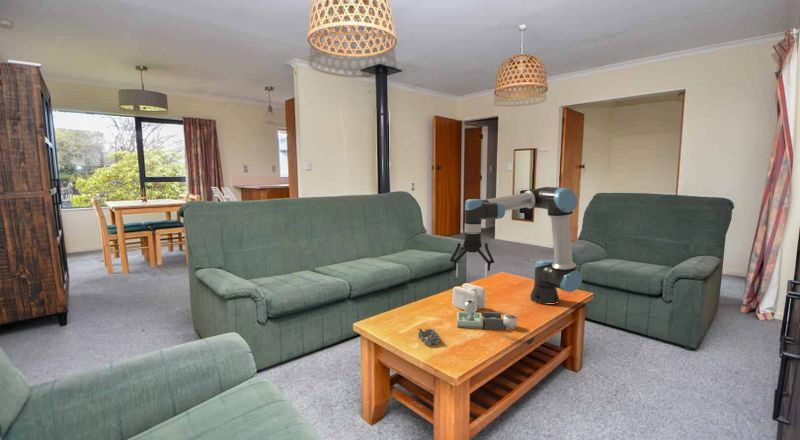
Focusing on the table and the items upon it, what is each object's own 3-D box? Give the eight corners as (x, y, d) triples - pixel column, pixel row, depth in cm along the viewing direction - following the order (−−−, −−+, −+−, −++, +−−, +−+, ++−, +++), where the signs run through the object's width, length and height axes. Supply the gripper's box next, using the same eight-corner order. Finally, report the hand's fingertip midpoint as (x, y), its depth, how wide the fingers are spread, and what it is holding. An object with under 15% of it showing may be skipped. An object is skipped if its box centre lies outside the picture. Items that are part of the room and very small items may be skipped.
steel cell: (473, 319, 178) (474, 299, 176) (474, 323, 173) (475, 302, 172) (464, 318, 178) (464, 298, 177) (464, 322, 174) (465, 302, 172)
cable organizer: (486, 310, 192) (487, 288, 191) (474, 315, 185) (474, 292, 184) (463, 302, 203) (464, 282, 202) (451, 307, 196) (451, 286, 195)
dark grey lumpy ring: (416, 336, 162) (416, 327, 161) (432, 334, 164) (432, 325, 163) (424, 347, 152) (424, 337, 151) (441, 344, 154) (441, 335, 153)
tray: (480, 318, 181) (480, 312, 180) (482, 328, 169) (482, 322, 169) (456, 317, 182) (457, 311, 182) (457, 326, 171) (457, 320, 171)
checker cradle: (500, 321, 177) (500, 311, 177) (503, 329, 168) (503, 319, 168) (483, 320, 178) (483, 310, 178) (485, 328, 169) (485, 318, 169)
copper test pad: (496, 319, 175) (496, 317, 174) (497, 322, 171) (497, 320, 171) (488, 319, 175) (489, 317, 175) (489, 322, 172) (489, 320, 171)
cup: (515, 324, 174) (515, 314, 173) (517, 330, 168) (518, 319, 167) (502, 323, 175) (502, 313, 174) (504, 329, 169) (504, 318, 168)
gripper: (499, 231, 172) (497, 275, 175) (445, 230, 176) (445, 273, 179) (501, 234, 165) (499, 280, 168) (445, 233, 168) (444, 277, 171)
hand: (471, 276), depth 173 cm, fingers open, 13 cm apart
